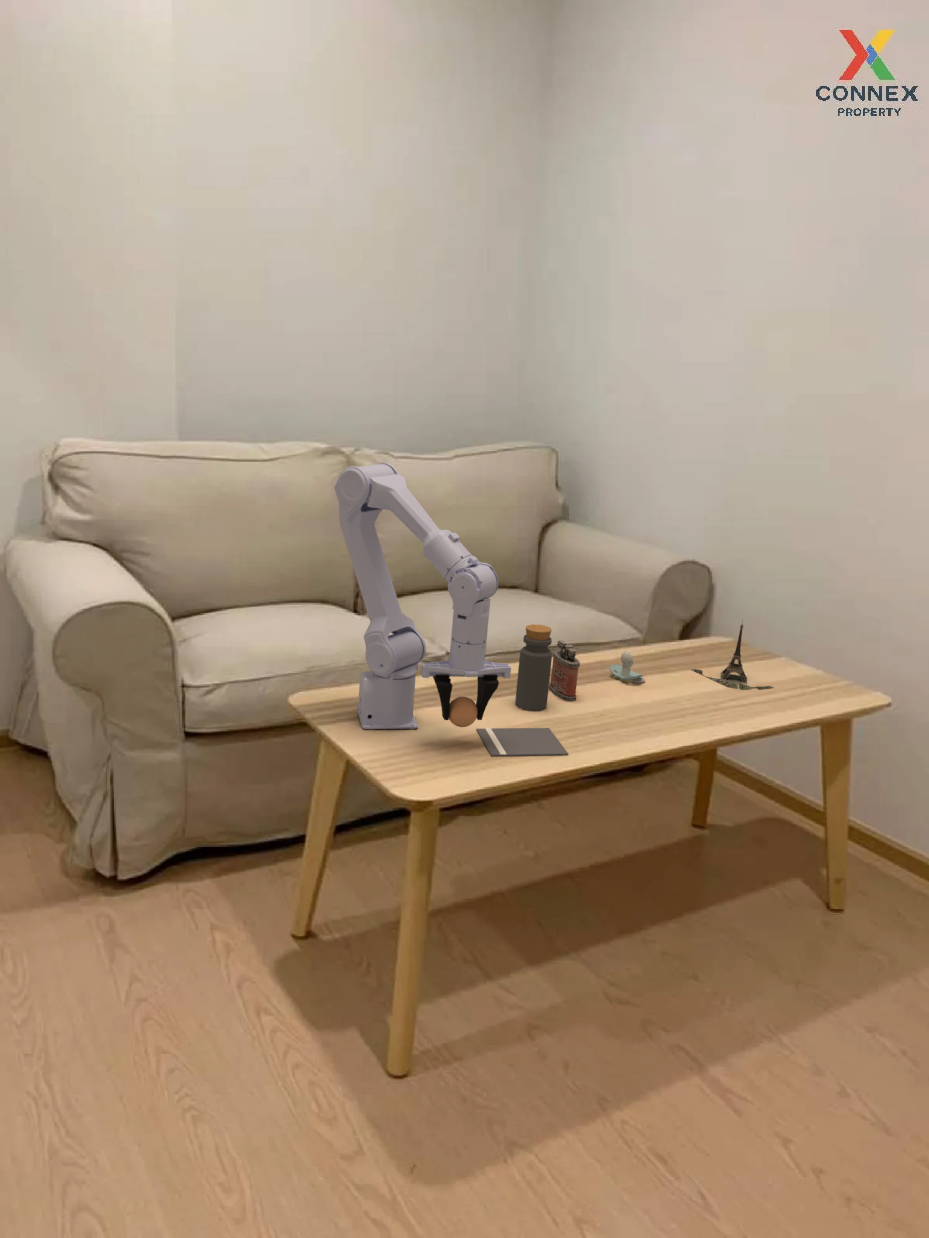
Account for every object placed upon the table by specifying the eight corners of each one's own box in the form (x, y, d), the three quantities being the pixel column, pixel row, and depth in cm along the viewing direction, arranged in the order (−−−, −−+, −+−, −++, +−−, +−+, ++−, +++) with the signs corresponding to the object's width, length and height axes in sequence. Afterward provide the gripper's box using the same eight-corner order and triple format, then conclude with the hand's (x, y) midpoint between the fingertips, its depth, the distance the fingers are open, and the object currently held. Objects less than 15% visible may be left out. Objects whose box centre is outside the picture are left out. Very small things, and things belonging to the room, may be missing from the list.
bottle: (520, 711, 184) (528, 632, 180) (510, 700, 190) (518, 623, 186) (551, 710, 186) (559, 632, 182) (540, 699, 191) (548, 623, 187)
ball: (449, 732, 165) (451, 703, 163) (443, 720, 169) (445, 692, 168) (479, 731, 166) (482, 703, 164) (472, 720, 170) (475, 692, 169)
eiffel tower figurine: (688, 671, 217) (696, 611, 213) (723, 667, 222) (732, 608, 218) (738, 695, 204) (749, 632, 201) (774, 690, 209) (785, 628, 206)
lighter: (579, 700, 192) (585, 650, 190) (563, 701, 191) (569, 651, 188) (560, 686, 200) (566, 637, 197) (545, 687, 198) (550, 638, 196)
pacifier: (625, 673, 212) (605, 676, 208) (629, 644, 210) (609, 647, 206) (651, 684, 206) (630, 687, 202) (656, 654, 204) (635, 657, 201)
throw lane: (491, 756, 164) (491, 754, 164) (476, 730, 174) (476, 728, 174) (568, 755, 167) (568, 753, 167) (548, 729, 177) (549, 727, 177)
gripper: (429, 646, 158) (422, 727, 162) (518, 647, 161) (510, 726, 165) (421, 632, 165) (415, 710, 168) (507, 634, 168) (500, 710, 172)
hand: (461, 717), depth 167 cm, fingers closed on ball, 5 cm apart
